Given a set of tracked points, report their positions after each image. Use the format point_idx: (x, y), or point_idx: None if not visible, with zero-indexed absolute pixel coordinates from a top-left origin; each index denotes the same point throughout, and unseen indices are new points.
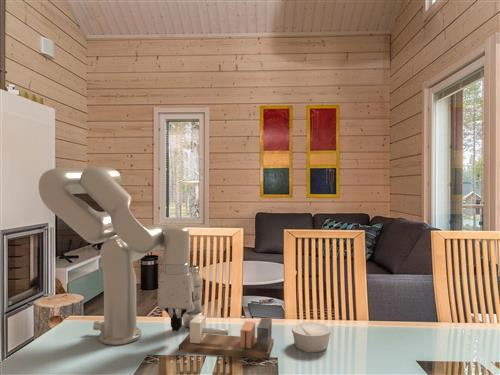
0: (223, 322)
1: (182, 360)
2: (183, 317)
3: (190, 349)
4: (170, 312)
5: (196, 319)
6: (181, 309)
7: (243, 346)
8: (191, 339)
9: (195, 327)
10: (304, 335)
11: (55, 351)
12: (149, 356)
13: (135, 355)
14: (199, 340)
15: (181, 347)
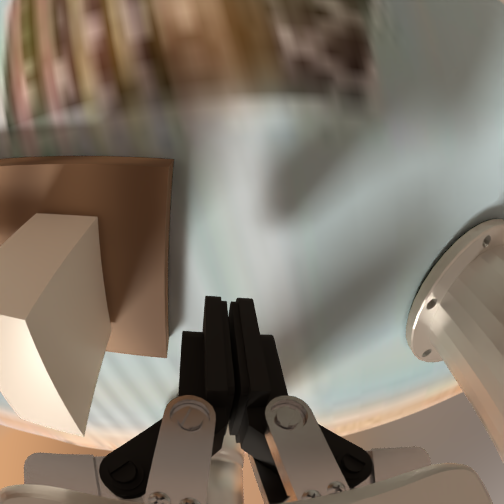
0: (104, 432)
1: (116, 31)
2: (238, 444)
3: (87, 159)
4: (303, 446)
5: (20, 373)
6: (148, 493)
7: None
8: (78, 227)
9: (3, 277)
10: None
11: None
12: (349, 74)
13: (421, 98)
14: (28, 221)
15: (147, 164)
